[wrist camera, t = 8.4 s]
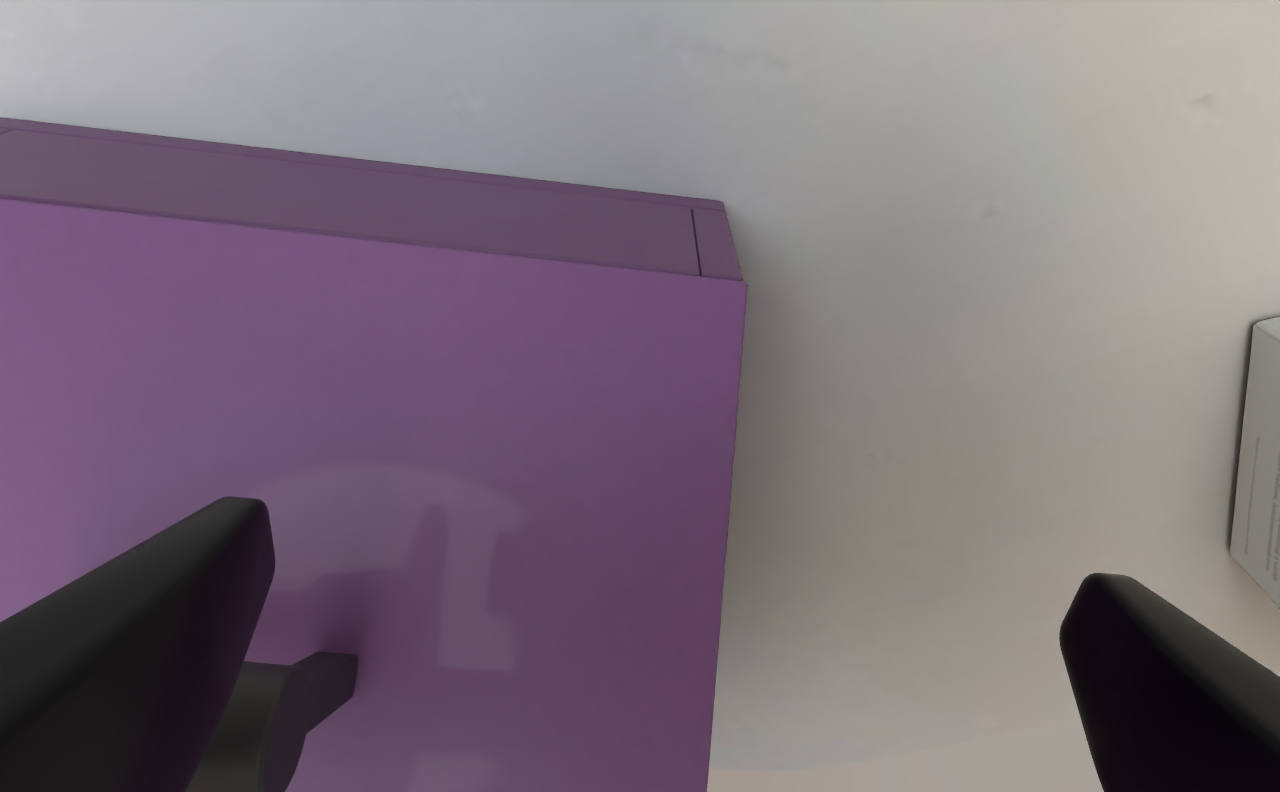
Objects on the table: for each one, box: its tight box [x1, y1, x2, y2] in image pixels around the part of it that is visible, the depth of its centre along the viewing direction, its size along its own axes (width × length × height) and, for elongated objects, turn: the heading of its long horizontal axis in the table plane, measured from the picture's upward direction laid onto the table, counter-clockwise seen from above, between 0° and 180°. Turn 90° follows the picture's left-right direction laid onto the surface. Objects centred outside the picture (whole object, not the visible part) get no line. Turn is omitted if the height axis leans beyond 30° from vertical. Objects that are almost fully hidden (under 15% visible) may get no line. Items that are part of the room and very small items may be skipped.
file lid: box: [0, 198, 748, 792], centre depth 12 cm, size 14×17×5 cm
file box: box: [0, 118, 743, 281], centre depth 21 cm, size 14×17×5 cm
